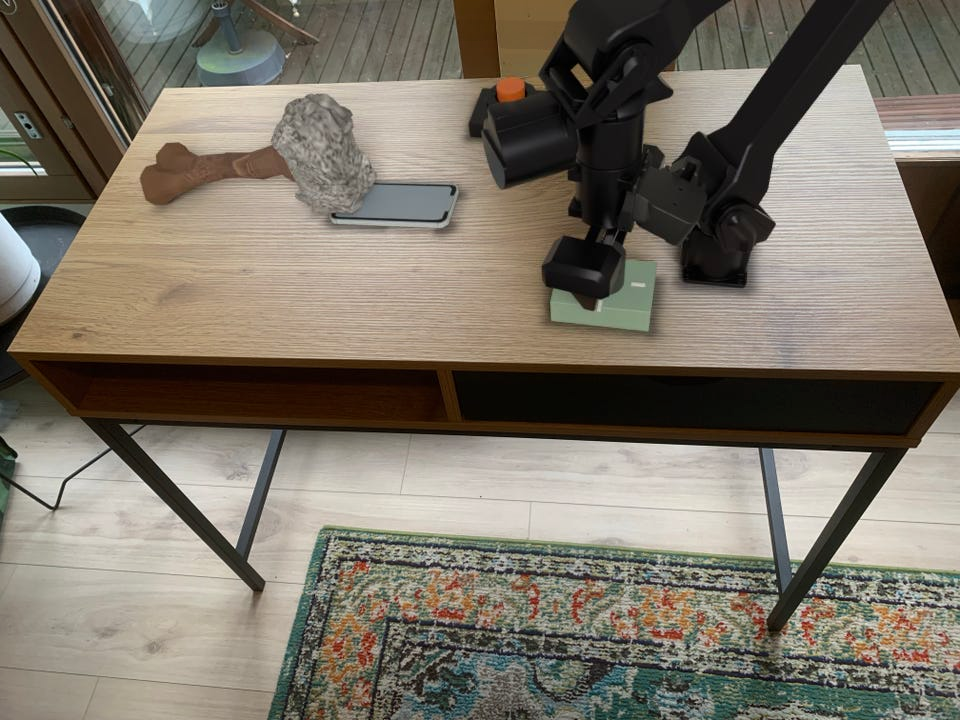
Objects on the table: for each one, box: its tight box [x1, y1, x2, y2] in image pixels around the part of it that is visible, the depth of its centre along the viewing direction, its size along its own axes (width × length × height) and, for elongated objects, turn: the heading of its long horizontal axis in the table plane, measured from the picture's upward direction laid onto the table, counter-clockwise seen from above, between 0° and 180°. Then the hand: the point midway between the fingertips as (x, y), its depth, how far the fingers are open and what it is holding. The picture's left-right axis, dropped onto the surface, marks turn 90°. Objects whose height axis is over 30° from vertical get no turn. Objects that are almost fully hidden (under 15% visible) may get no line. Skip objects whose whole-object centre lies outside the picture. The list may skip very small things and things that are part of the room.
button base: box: [468, 80, 545, 139], centre depth 98 cm, size 10×8×4 cm
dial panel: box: [549, 258, 658, 332], centre depth 77 cm, size 10×8×3 cm
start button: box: [496, 76, 525, 102], centre depth 96 cm, size 4×4×2 cm
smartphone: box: [329, 181, 459, 229], centre depth 91 cm, size 7×1×15 cm
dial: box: [600, 241, 627, 295], centre depth 74 cm, size 4×4×4 cm
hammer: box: [139, 92, 378, 215], centre depth 90 cm, size 15×10×30 cm
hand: (603, 276), depth 75 cm, fingers open, 9 cm apart
